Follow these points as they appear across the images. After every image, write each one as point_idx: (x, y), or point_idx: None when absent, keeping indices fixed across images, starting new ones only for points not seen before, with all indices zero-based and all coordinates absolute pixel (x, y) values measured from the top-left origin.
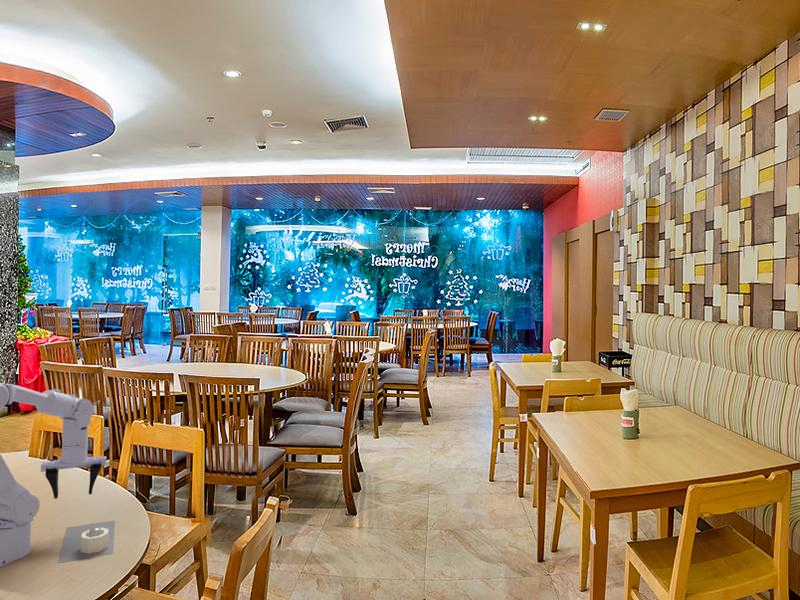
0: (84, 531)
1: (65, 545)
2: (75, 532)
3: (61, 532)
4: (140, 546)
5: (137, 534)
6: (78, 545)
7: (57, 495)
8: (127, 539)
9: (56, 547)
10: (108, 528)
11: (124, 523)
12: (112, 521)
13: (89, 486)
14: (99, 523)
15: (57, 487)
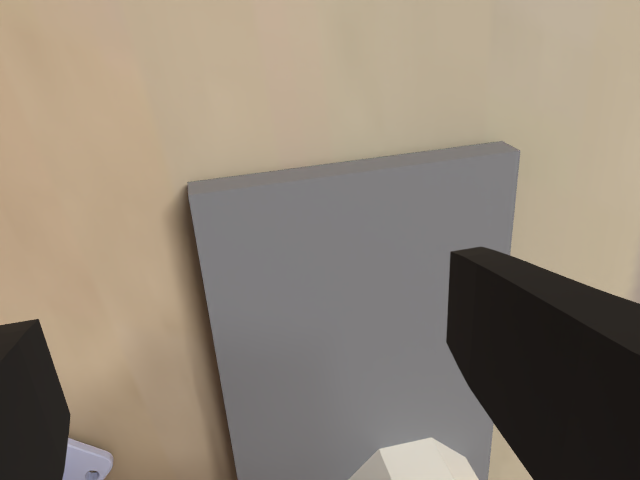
0: (331, 296)
1: (252, 458)
2: (274, 299)
3: (143, 158)
4: None
5: None
6: (323, 465)
7: (58, 424)
8: None
9: (183, 381)
10: None
11: (560, 117)
12: (504, 165)
13: (509, 440)
14: (419, 180)
15: (4, 474)
